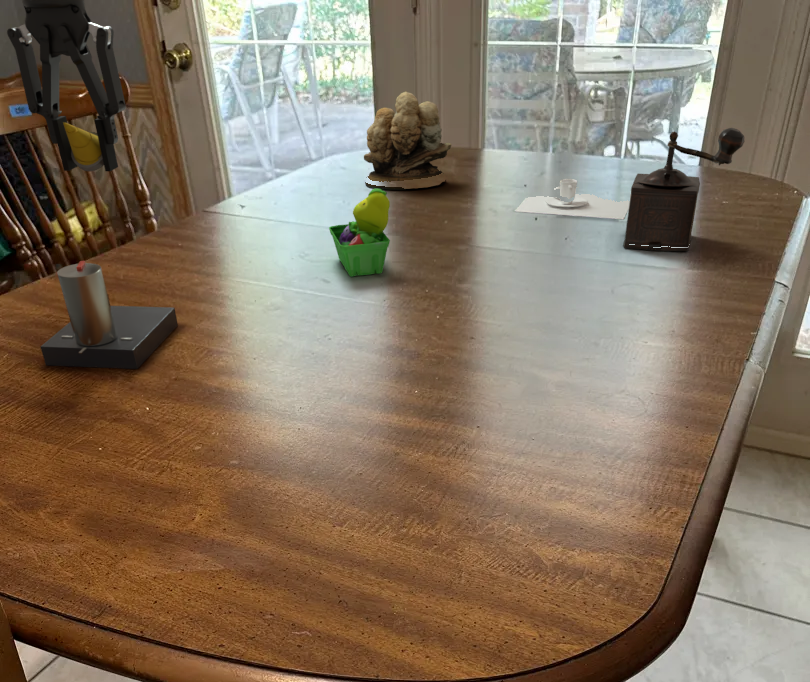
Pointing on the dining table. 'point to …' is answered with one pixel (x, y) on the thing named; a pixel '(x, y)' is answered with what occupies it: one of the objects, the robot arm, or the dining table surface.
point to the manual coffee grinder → (671, 198)
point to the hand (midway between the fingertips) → (91, 168)
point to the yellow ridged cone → (84, 148)
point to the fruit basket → (364, 236)
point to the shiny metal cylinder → (87, 303)
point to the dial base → (128, 351)
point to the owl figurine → (405, 142)
